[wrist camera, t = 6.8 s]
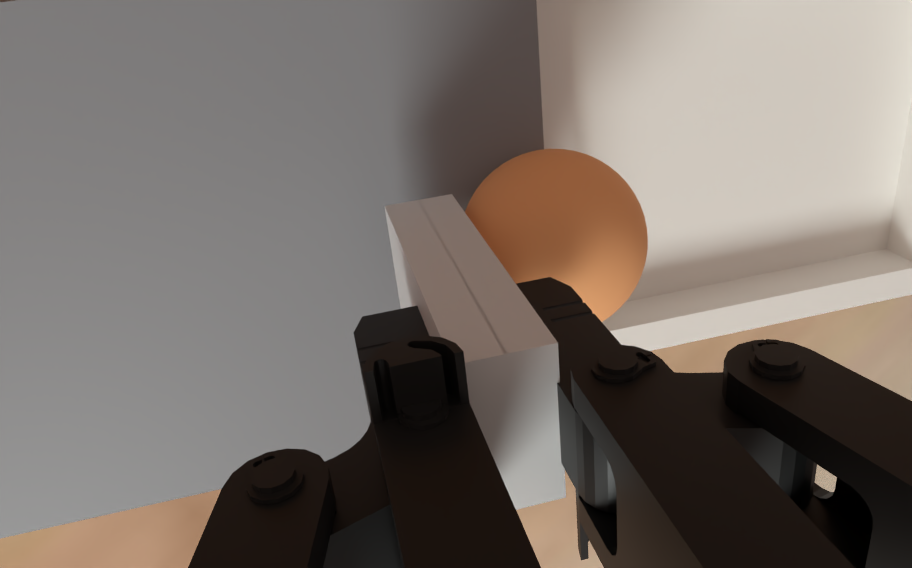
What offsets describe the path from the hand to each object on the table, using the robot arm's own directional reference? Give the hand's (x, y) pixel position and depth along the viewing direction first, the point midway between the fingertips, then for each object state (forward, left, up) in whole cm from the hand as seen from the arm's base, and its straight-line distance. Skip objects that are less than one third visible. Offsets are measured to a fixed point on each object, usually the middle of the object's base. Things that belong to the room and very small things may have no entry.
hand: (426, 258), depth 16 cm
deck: (+5, 0, -5) cm, 7 cm away
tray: (-11, 0, -6) cm, 12 cm away
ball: (-3, 0, 0) cm, 3 cm away
